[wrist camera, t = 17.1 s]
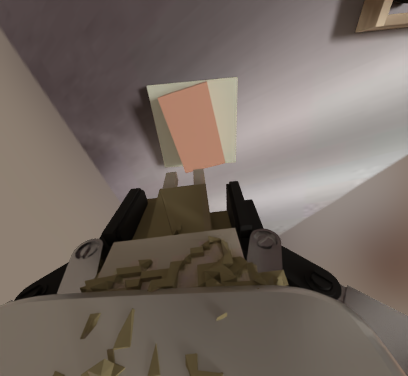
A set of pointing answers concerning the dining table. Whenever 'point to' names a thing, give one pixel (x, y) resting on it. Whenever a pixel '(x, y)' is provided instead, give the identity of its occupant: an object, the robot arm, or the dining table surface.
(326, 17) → the dining table surface
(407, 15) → the car corral
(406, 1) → the toy car
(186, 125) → the brick
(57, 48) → the dining table surface
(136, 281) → the toy
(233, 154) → the plate
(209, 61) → the dining table surface
